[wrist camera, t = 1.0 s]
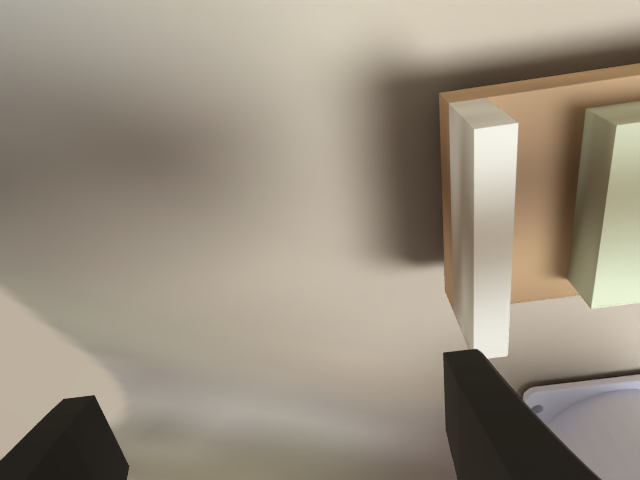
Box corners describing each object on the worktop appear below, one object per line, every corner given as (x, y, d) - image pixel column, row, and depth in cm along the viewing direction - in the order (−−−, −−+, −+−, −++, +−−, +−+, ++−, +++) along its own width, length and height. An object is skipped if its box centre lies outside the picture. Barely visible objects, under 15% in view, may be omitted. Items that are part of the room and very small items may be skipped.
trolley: (679, 237, 19) (790, 321, 15) (436, 269, 19) (473, 360, 15) (724, 38, 16) (887, 69, 11) (429, 82, 16) (474, 129, 12)
